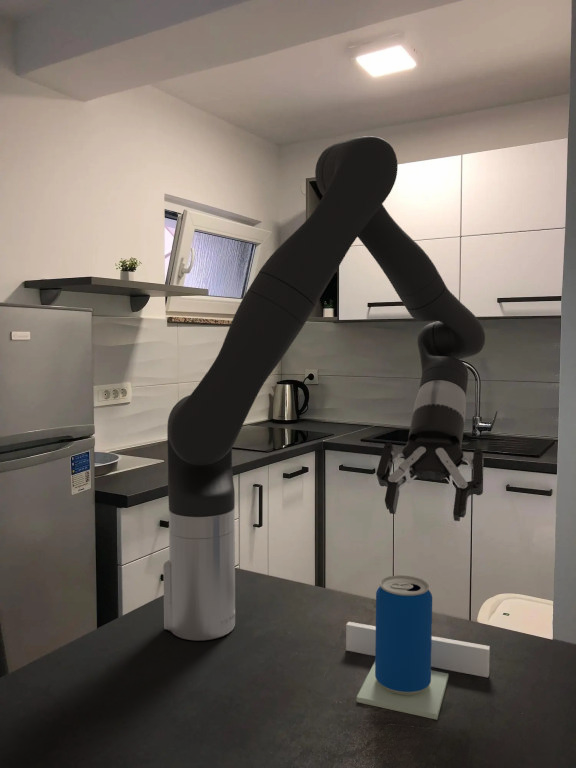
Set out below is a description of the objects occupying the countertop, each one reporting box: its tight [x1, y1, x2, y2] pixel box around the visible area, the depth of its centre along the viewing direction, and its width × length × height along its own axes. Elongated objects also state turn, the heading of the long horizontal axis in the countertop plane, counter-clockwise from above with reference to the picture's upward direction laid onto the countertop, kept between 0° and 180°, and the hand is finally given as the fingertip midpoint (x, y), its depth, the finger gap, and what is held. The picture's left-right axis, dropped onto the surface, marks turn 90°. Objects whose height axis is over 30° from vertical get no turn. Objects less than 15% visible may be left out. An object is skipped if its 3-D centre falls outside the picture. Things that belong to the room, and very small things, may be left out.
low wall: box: [345, 621, 491, 678], centre depth 81 cm, size 18×1×4 cm, turn 68°
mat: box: [356, 661, 449, 720], centre depth 74 cm, size 9×9×1 cm
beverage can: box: [374, 574, 433, 695], centre depth 74 cm, size 6×6×12 cm
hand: (423, 514), depth 84 cm, fingers open, 8 cm apart
